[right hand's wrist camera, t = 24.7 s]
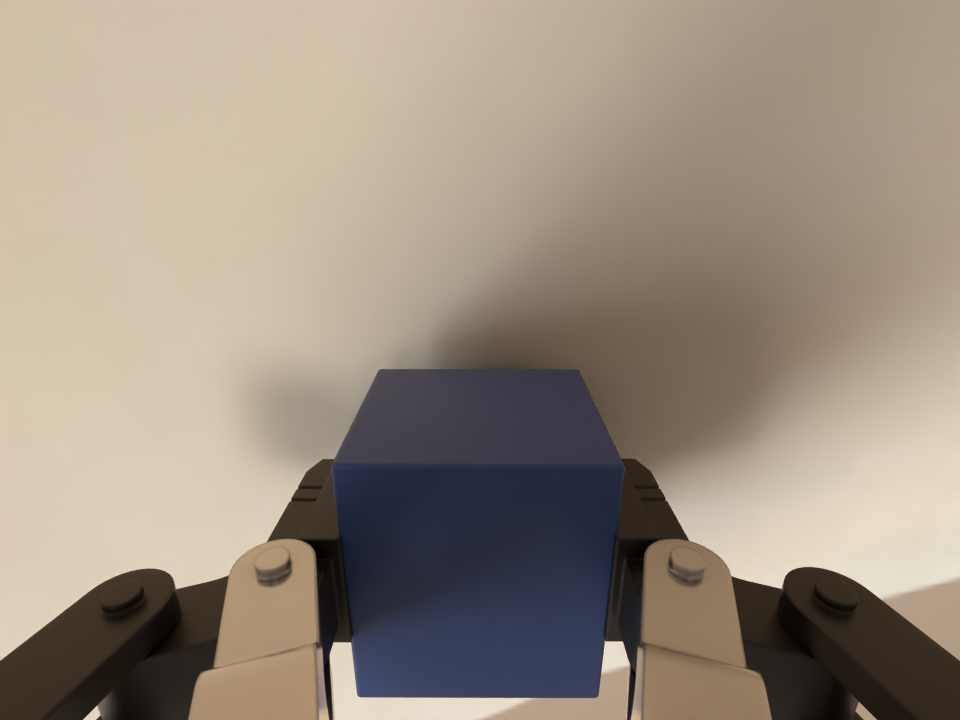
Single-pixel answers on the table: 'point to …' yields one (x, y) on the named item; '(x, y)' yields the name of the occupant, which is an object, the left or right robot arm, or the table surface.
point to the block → (478, 534)
